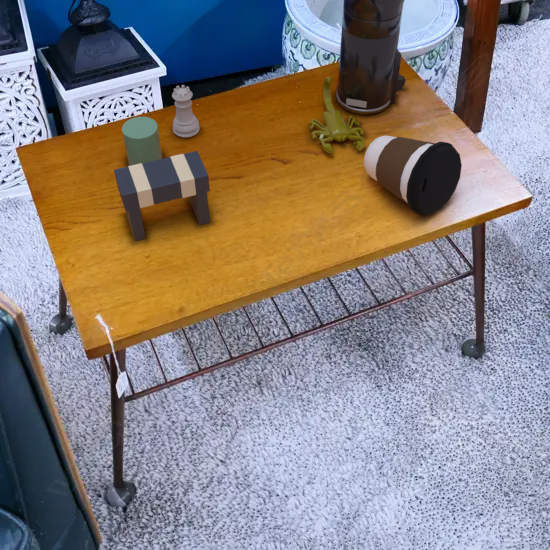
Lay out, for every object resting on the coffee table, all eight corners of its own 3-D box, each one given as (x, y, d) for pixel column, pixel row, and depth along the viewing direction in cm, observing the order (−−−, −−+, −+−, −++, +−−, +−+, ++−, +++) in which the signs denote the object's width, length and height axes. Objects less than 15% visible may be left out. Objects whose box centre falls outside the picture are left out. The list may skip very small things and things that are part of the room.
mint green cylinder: (158, 146, 121) (152, 113, 116) (166, 167, 118) (161, 133, 113) (125, 153, 120) (118, 120, 115) (132, 174, 117) (126, 141, 112)
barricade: (202, 197, 113) (197, 150, 106) (212, 222, 110) (208, 175, 103) (123, 216, 110) (113, 169, 104) (132, 242, 107) (122, 195, 100)
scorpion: (318, 158, 118) (322, 128, 114) (298, 103, 128) (301, 73, 124) (372, 154, 120) (377, 123, 115) (348, 100, 130) (352, 70, 125)
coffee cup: (346, 194, 113) (408, 223, 106) (359, 123, 108) (424, 149, 101) (393, 183, 120) (453, 210, 113) (407, 117, 115) (471, 140, 108)
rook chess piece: (168, 127, 124) (163, 86, 118) (193, 119, 126) (189, 78, 120) (179, 142, 122) (174, 101, 116) (204, 134, 123) (200, 93, 117)
